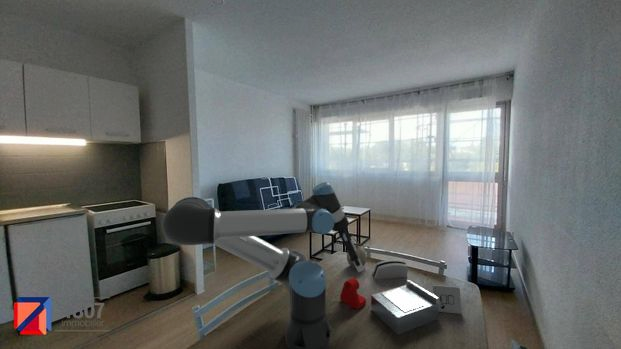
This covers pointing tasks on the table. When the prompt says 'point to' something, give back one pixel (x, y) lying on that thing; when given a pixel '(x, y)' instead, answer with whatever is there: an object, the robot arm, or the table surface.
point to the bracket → (352, 294)
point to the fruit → (360, 253)
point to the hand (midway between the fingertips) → (357, 260)
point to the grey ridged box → (405, 307)
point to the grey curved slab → (390, 269)
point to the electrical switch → (448, 298)
